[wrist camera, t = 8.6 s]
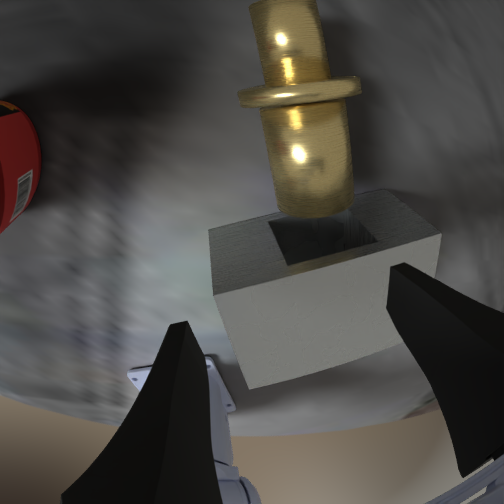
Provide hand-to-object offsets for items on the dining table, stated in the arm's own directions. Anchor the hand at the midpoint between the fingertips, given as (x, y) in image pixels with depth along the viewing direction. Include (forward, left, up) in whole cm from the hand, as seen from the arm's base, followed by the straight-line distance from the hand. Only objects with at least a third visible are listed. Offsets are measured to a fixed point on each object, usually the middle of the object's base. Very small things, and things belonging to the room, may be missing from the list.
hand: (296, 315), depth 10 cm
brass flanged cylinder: (+7, -3, -10) cm, 12 cm away
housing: (-5, -3, -10) cm, 11 cm away
